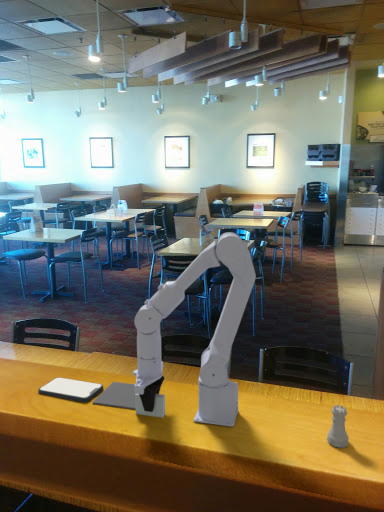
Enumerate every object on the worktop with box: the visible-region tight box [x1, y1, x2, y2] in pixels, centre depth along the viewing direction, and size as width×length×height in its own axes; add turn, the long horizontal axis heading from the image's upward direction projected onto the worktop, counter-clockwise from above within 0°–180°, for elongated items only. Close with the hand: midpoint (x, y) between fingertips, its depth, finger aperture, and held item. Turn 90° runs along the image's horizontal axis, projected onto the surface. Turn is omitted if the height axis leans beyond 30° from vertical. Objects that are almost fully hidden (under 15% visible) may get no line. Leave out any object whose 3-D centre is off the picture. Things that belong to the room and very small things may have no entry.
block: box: [135, 393, 166, 418], centre depth 100 cm, size 7×2×5 cm, turn 75°
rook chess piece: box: [326, 404, 350, 449], centre depth 88 cm, size 4×4×8 cm
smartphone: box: [37, 377, 104, 403], centre depth 112 cm, size 9×2×16 cm
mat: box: [92, 381, 136, 411], centre depth 109 cm, size 14×12×1 cm
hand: (150, 408), depth 100 cm, fingers closed on block, 2 cm apart
